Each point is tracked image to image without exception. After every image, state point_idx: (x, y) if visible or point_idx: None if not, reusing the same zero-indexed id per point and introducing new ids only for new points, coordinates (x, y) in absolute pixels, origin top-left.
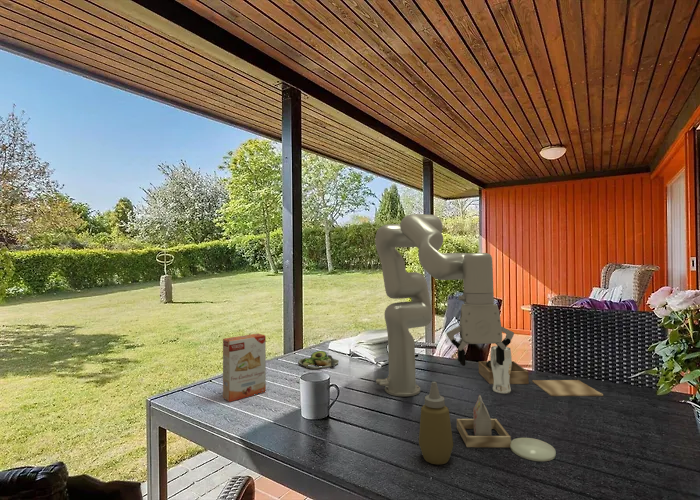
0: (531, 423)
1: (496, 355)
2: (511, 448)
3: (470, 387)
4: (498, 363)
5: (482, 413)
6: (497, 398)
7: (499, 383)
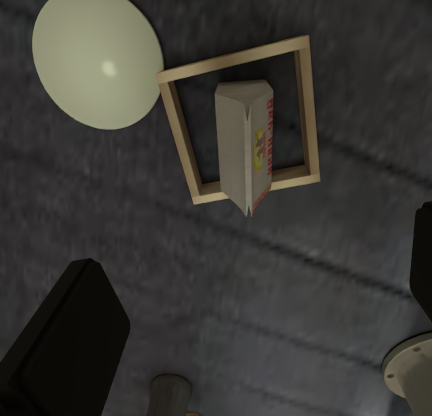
0: (105, 234)
1: (110, 369)
2: (160, 48)
3: (244, 394)
4: (112, 289)
5: (246, 109)
6: (184, 350)
7: (173, 400)
